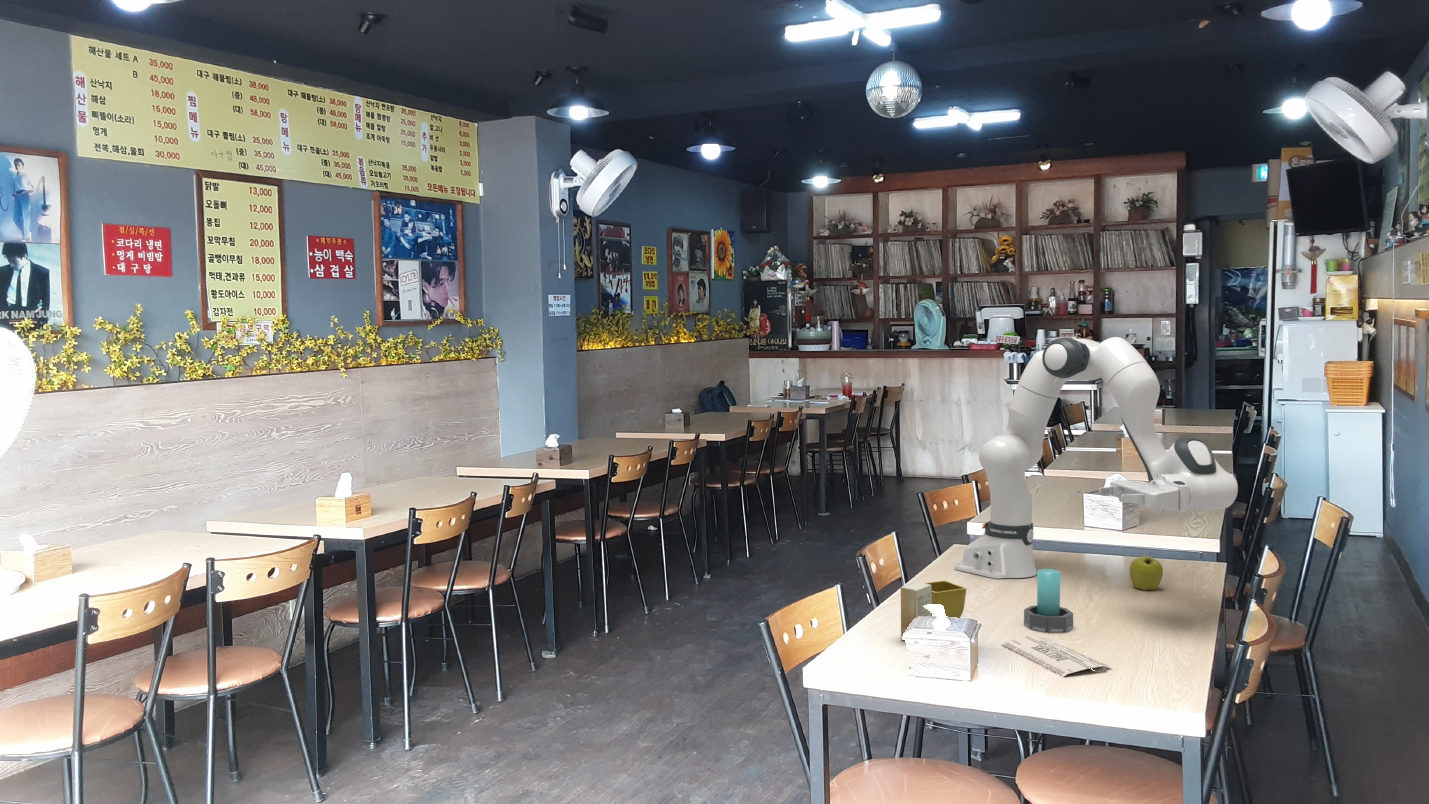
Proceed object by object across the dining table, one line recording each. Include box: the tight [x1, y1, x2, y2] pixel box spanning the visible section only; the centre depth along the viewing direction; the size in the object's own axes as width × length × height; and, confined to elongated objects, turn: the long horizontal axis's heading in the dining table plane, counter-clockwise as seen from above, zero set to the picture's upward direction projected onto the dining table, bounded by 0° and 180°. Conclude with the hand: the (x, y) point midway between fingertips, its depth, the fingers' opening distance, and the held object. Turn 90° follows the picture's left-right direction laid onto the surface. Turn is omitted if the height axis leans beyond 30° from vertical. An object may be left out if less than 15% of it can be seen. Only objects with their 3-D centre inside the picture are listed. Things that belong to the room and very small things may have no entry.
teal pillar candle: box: [1036, 568, 1061, 616], centre depth 239 cm, size 5×5×12 cm
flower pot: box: [923, 580, 967, 619], centre depth 242 cm, size 9×9×9 cm
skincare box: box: [900, 581, 932, 639], centre depth 230 cm, size 6×4×12 cm
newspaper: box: [1000, 634, 1112, 678], centre depth 218 cm, size 23×12×2 cm, turn 18°
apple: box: [1129, 552, 1164, 591], centre depth 271 cm, size 8×8×10 cm
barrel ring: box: [1023, 605, 1074, 634], centre depth 239 cm, size 10×10×4 cm
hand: (1110, 495), depth 239 cm, fingers open, 8 cm apart
